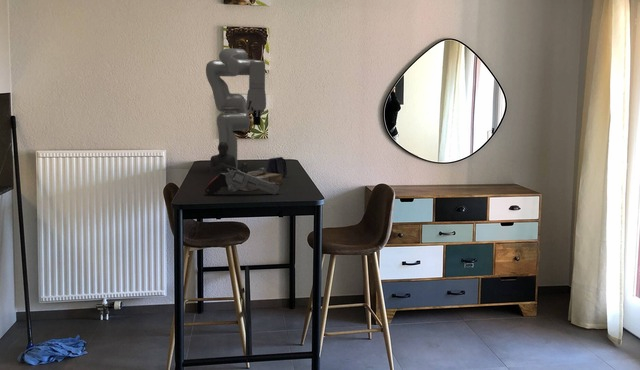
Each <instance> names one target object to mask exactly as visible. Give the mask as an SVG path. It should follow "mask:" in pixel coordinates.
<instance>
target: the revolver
mask: <svg viewBox="0 0 640 370" xmlns="http://www.w3.org/2000/svg"><path fill="white" fill-rule="evenodd" d="M227 170H228V171H229V173H220V174H219V175H218V176H217V177H216V178H215V177H214V178H213V179H212V180H211V181H209V183H208V184H207V185H206V188H205V189H204V192H205V194H208V195H210V196H214V195H215V194H216V193H218V191H221V188H224V189H226V188H227V190H228V192H233V193H234V192H237V191H239V190H238V188H242V189H244V187H245V186H246V185H247V184H248V185H250V186H253V187H255V188H258V189H257V190H260V191H263V192H266V193H268V194H271V195H274V196H275V195H277V194H278V192H279V191H280V185H281V184H278V183H276V182H275V183H270V182H267V181H264V180H262V179H259V178H257V177H254V176H251V175H249V174H246V173H244V172H242V170H240V169H238V170H237V169H236V168H234V167H233V169H232V170H231V171H230V170H229V169H227ZM239 170H240V171H239ZM235 173H236V174H235ZM244 175H245V176H244ZM233 178H234V179H233ZM234 180H235V181H234ZM242 180H243V181H242ZM233 184H234V185H236V186H237V189H236V190H235V189H233V188H232V185H233ZM229 185H231V189H229V188H228V186H229Z"/></svg>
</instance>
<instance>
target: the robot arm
mask: <svg viewBox="0 0 640 370" xmlns="http://www.w3.org/2000/svg"><path fill="white" fill-rule="evenodd" d="M218 58H219V59H216V60H210V61H209V62H207V63H206V65H205V74H206V80H207V82H208V83H209V86H210V88H211V90H212V95H213V99H214V103H215V107H216V109H217V111H219V112H221V113H219V114H218V115H217V117H216V126H217V131H218V144H219V143H220V142H226V143H227V145H228V151H227V154H228V155H232V156H234V157H235V161H236V169H237V170H239V171H241V169H238V138H237V135H236V134H235V133H234V131H246V130H248V129H249V128H250V124H251V119H250V118H251V117H250V114H251V116H252V125H253V126H261V117H262V115H263V113H264V112H265V110H266V107H267V95H266V87H265V86H266V62H265V61H264V60H257V59H249V57H248V53H247V51H246V50H245V49H242V48H231V47H230V48H228V47H227V48H224V49H222V50H221V51H220V52H219V54H218ZM237 76H249V79H248V91H247V93H246V98H245V97H244V95H242V94H240V93H231V92H230V90H229V85H228V84H227V83H226V81H225V80H224V79H223V78H221V77H237Z"/></svg>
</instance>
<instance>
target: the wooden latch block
mask: <svg viewBox="0 0 640 370" xmlns="http://www.w3.org/2000/svg"><path fill="white" fill-rule="evenodd" d="M244 176H245V175H244ZM251 176H254V177H257V178H259V179H262V180H264V181H267V182H270V183H275V182H276V183H278V184H280V185H283V177H282V174H273V173H268V172H266V174H255V175H251ZM233 179H234V178H233ZM234 181H235V180H234ZM242 181H243V180H242ZM228 188H229V189H231V185H229V186H228ZM232 188H233V190H236V189H237V186H236V185H234V184H233V185H232ZM226 189H227V188H225V190H226ZM227 190H228V189H227ZM231 190H232V189H231ZM256 190H259V189H258V188H255V187H253V186H250V185H248V184H247V185H246V186H245V187H244V189H242V188H238V190H237V191H243V192H244V191H245V192H251V191H256Z"/></svg>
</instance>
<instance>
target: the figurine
mask: <svg viewBox="0 0 640 370" xmlns="http://www.w3.org/2000/svg"><path fill="white" fill-rule="evenodd" d="M217 151H218V154H214V155H212V156H211V157H210V165H209V166H210V167H209V168H210V170H209V174H211V175H213V174H214V178H216V177H217V176H218V175H219V174H220V173H229V171H228V170H227V169H229V170H230V171H231V170H232V169H233V167H234V168H236V161H235V157H234V156H232V155H228V154H227V151H228V145H227V143H226V142H220V143H219V142H218V146H217ZM235 174H236V173H235Z"/></svg>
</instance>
